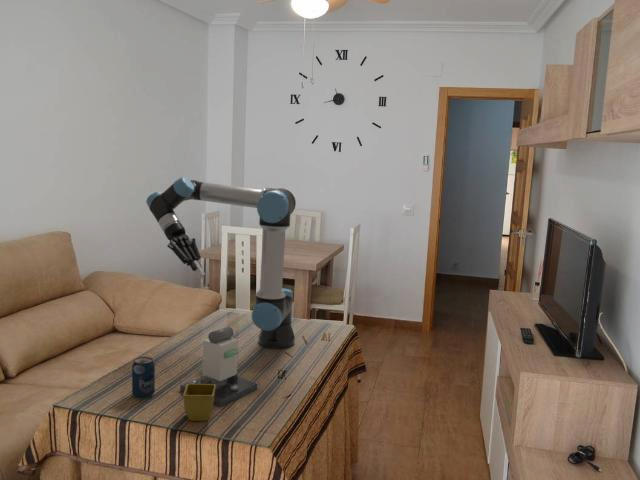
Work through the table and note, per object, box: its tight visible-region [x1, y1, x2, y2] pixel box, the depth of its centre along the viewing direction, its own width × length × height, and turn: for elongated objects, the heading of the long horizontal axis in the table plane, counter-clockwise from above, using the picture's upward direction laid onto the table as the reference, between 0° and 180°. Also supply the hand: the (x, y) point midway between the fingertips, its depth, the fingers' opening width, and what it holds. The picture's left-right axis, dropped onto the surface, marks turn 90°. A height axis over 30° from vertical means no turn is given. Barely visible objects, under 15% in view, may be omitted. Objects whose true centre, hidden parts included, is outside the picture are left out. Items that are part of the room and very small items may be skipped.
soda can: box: [131, 356, 156, 400], centre depth 192 cm, size 7×7×12 cm
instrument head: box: [202, 326, 239, 384], centre depth 198 cm, size 10×10×18 cm
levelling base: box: [179, 368, 259, 408], centre depth 200 cm, size 18×18×6 cm
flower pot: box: [182, 384, 216, 422], centre depth 179 cm, size 9×9×9 cm
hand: (202, 276), depth 227 cm, fingers closed
